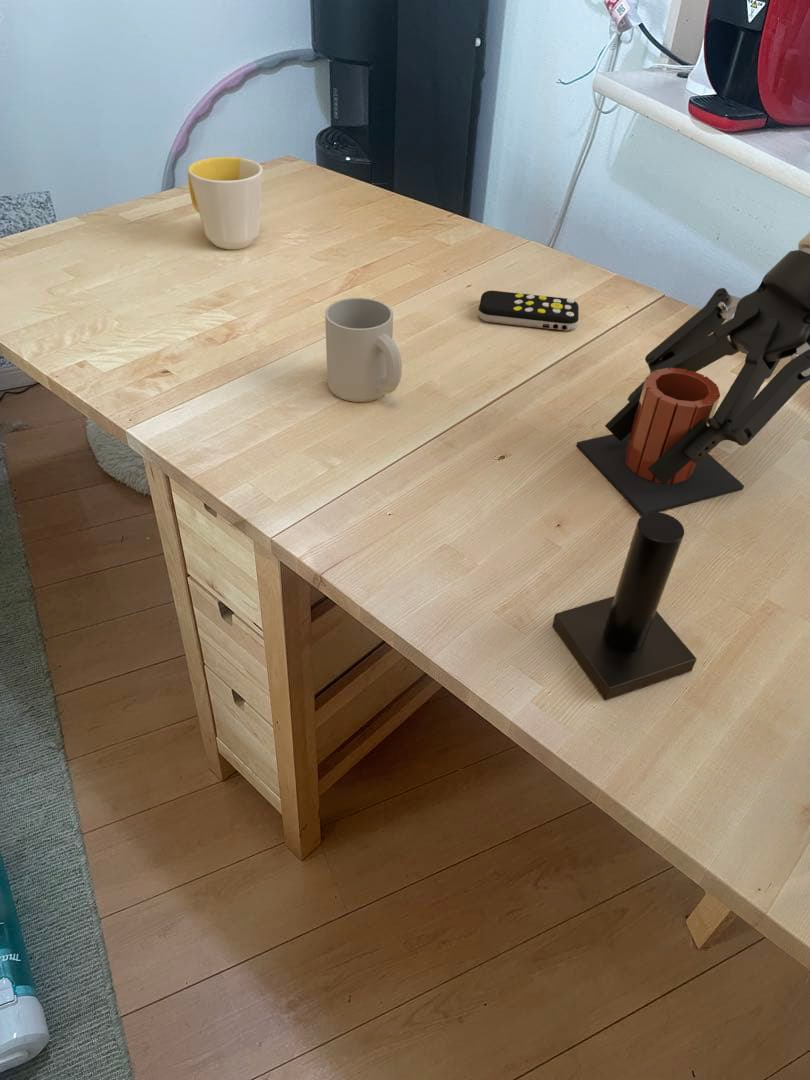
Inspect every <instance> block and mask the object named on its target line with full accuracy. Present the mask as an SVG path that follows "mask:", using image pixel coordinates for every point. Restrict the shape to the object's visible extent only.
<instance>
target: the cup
mask: <svg viewBox="0 0 810 1080" xmlns="http://www.w3.org/2000/svg"><path fill="white" fill-rule="evenodd" d="M324 317H325V318H324V320H325V321H324V323H325V353H326V380H327V387H328V388H329V390H330V392H331V393H332V394H333V395H334V396H336V398H339V399H341V400H344V401H347V402H351V403H352V402H354V403H367V402H373V401H375V400H378V399H380V398H382V397H383V396H385V394H391V393H393V392H394V391H396V389H397V388H398V387H399V384H400V382H401V379H402V373H403V366H402V364H403V363H402V357H401V352H400V348H398V345H397V344H396V342H395V341H394V340H393V338H394V337H393V335H394V334H393V333H394V312H393V310H392V308H391V307H390V306H389V305H387V304H386V303H384V302H383V301H380V300H377V299H374V298H367V297H348V298H343V299H340V300H337V301H334V302H333V303H330V304H329V305H328V306H327V307H326V309H325V311H324Z"/></svg>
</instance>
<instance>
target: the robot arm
mask: <svg viewBox="0 0 810 1080" xmlns="http://www.w3.org/2000/svg"><path fill="white" fill-rule="evenodd" d="M797 248H798V249H795V250H790V251H789V252H787V254H785V255H784V256H783V257H782V258H781V259H780V260H779V261H778V262H777V263H776V264H775V265H774V266H773V267H772V268H771V269H770V270H769V271H768V272H766V274H765V275H764V276H763V278H762V280H761V283H760V284H759V286H758V287H757V289H755V290H754V291H752V292H750V293H748V294H746V295H744V296H742V297H737V296H735V295H732V294H729V292H728V291H727V288H725V287H720V288H718V289H716V290H715V291H714V293H713V295H712V296H711V297H710V298H709V300H708V301H707V302H706V304H705V305H704V306H703V307H702V308H701V309H699V311H698V312H696V313H694V315H693V316H692V317H690V318H689V319H688V320H687V321H685V322H683V324H682V325H680V326H679V328H677V329H676V330H675V331H674V332H672V333H671V334H670V335H669V336H667V337H666V338H665V339H664V340H663V341H661V343H659V344H658V345H657V346H656V347H655V348H653V349H652V350H651V351H650V352H648V354H646V356H645V358H644V361H645V362H646V364H647V366H648V369H649V374H650V373H652V372H653V371H655V370H659V369H664V368H669V369H670V368H680V369H687V371H688V370H691V371H694V372H696V373H698V372H699V371H700V370H703V369H704V368H705V367H707V366H709V365H711V364H713V363H715V362H717V361H719V360H720V359H722V358H724V357H725V356H734V355H735V354H737V353H739V352H740V353H741V354H744V355H745V357H744V364H743V365H742V368H741V369H740V370H739V373H738V374H737V376H736V378H735V379H734V380H733V383H732V384H731V386H730V388H729V390H728V391H727V393H726V394H725V396H724V397H723V399H722V401H721V402H720V404H719V406H718V407H717V408H716V410H715V412H714V415H713V417H712V418H710V419H709V417H707V423H708V424H709V425H710V426H709V427H708V426H707V424H706V423H704V422H703V421H702V420H700V421H699V422H698V423H697V424H696V425H695V426H694V427H692V428H691V429H690V430H689V431H688V432H687V433H686V434H684V435H683V436H682V437H681V438H680V439H679V440H678V441H677V442H676V443H675V444H674V445H673V446H672V447H670V448H669V449H668V450H667V451H666V452H665V453H664V454H663V455H662V456H661V457H660V458H659V459H658V460H656V461H655V462H654V463H653V464H652V465H651V466H650V467H649V468H648V470H649V471H650V472H651V473H652V474H653V475H654V476H655V477H656V478H657V479H658V480H659V481H660V482H661V483H662V484H663V485H664V484H665V483H666V482H668V481H669V480H670V479H671V478H672V477H673V476H674V475H675V474H676V473H677V472H678V471H680V470H681V469H682V468H683V467H684V466H685V465H686V464H687V463H688V462H689V461H691V460H692V461H693V462H694V463H696V462H698V461H700V460H701V459H702V458H703V457H704V456H706V455H707V454H709V453H710V452H711V451H712V450H713V449H715V448H716V447H717V446H718V445H719V444H720V443H722V442H723V441H729V442H733V443H736V444H737V445H739V446H740V447H743V446H747V445H748V444H749V443H750V442H751V441H752V440H753V439H754V438H755V436H757V435H758V434H759V432H760V431H761V430H762V429H763V428H764V427H765V426H766V425H767V424H768V423H769V422H770V420H772V419H773V417H774V416H775V415H776V414H777V413H778V412H779V411H780V410H781V409H782V407H784V406H785V404H786V403H787V402H788V401H789V400H790V399H791V398H792V397H793V396H794V395H795V394H796V393H797V392H798V391H799V389H800V388H802V386H804V384H806V383H808V382H810V231H809V232H808V233H807V234H806V235H804V236H803V237H802V238H801V239H800V241H798V244H797ZM726 320H727V321H726ZM789 357H791V358H790V361H788V362H787V363H786V364H785V365H783V367H781V369H780V370H779V371H778V372H777V373H776V374H775V375H774V376H773V377H772V378H771V379H770V381H769V382H768V383H767V384H766V385H764V387H763V388H762V389H761V387H762V386H763V384H764V382H765V380H767V379H768V380H769V378H770V377H771V376H772V374H773V373H774V371H775V369H776V368H777V366H778V364H779V363H780V361H781V360H783V359H787V358H789ZM644 382H645V380H643V381H642V383H640V385H639V386H637V387H636V388H635V389H634V390H633V391H632V392H631V393H630V394H629V395H628V398H627V399H626V400H627V401H628V403H627V404H625V406H623V407H622V408H621V409H620V411H618V412H617V413H616V414H615V415H614V416H613V417H612V418H611V419H610V420H609V421H608V422H607V423H606V424H605V425H604V427H605V428H606V429H607V430H608V431H609V432H610V433H611V434H613V435H614V436H615V437H616V438H617V439H618V440H619V441H620V442H621V441H622V440H623V439H624V438H625V437H626V436H627V435H628V434H629V433H630V432H631V430H632V426H633V422H634V419H635V415H636V411H637V408H638V404H639V400H640V397H641V393H642V389H643V386H644ZM760 389H761V390H760Z"/></svg>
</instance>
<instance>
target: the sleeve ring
mask: <svg viewBox="0 0 810 1080" xmlns="http://www.w3.org/2000/svg"><path fill="white" fill-rule="evenodd" d="M644 381H645V382H644ZM644 381H643V382H644V386H643V389H642V393H641V397H640V400H639V404H638V408H637V411H636V415H635V419H634V422H633V426H632V430H631V433H630V437H629V441H628V444H627V448H626V452H625V462H626V464H627V466H628V467H629V468H630V469H631V470H632V471H633V472H634V473H635V474H638V476H640V477H642V478H644V479H647V480H649V481H653V480H654V483H661V482H660V481H659V480H658V479H657V478H656V477H655V476H654V475H653V474H652V473H651V472H650V471H649V470H648V468H649V467H650V466H651V465H652V464H653V463H654V462H655V461H656V460H658V459H659V458H660V457H661V456H662V455H663V454H664V453H665V452H666V451H667V450H668V449H669V448H670V447H672V446H673V445H674V444H675V443H676V442H677V441H678V440H679V439H680V438H681V437H682V436H683V435H684V434H686V433H687V432H688V431H689V430H690V429H691V428H692V427H694V426H695V425H696V424H697V423H698V422H699V421H700V420H702V421H703V422H704V423H706V424H707V426H708V427H709V426H710V425H709V424H708V423H707V417H709V419H710V418H712V417H713V416H714V414H715V412H716V410H717V406H718V403H719V400H720V397H721V392H720V389H719V386H718V385H717V383H715V382H714V381H713V380H712V379H711V378H709V377H708V376H705V374H702V373H699V372H694V371H691V370H688V371H687V369H680V368H670V369H669V368H664V369H659V370H655V371H653V372H652V373H650V372H649V374H648V375H647V376H646V377H645V379H644ZM696 463H697V462H696ZM696 463H694V462H693V461H692V460H691V461H689V462H688V463H687V464H686V465H685V466H684V467H683V468H682V469H681V470H680V471H678V472H677V473H676V474H675V475H674V476H673V477H672V478H671V479H670V480H669V481H668V482H666V483H665V484H670V483H672V484H674V483H678V482H682V481H685V480H687V479H688V478H689V477H690V476H691V475H692V473H693V472H694V469H695V466H696Z"/></svg>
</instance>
